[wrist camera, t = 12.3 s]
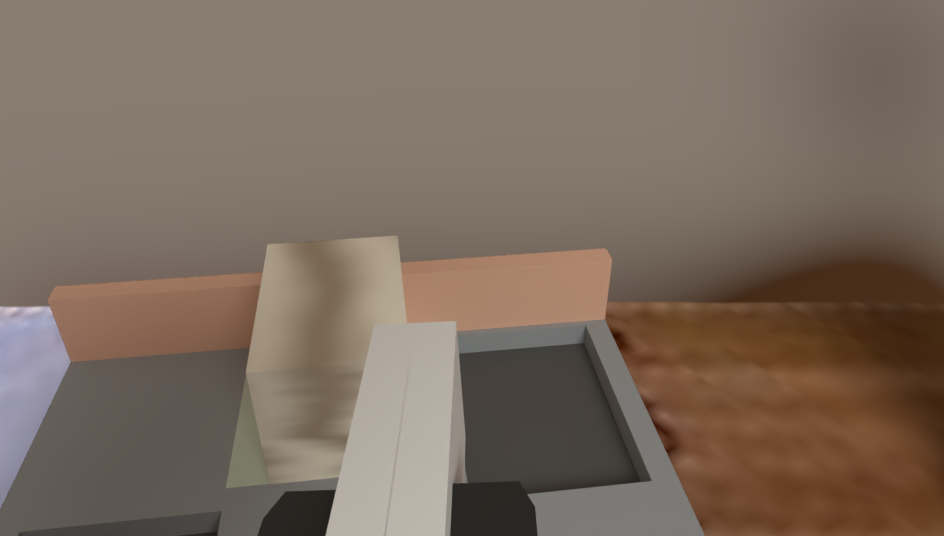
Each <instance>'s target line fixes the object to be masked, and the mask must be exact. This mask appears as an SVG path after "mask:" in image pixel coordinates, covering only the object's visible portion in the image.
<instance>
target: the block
mask: <svg viewBox="0 0 944 536" xmlns="http://www.w3.org/2000/svg"><path fill="white" fill-rule="evenodd" d="M399 323H407V318H406V309H405V299H404V290H403V281H402V272H401V262H400V254H399V244H398V236H382V237H368V238H354V239H338V240H324V241H309V242H295V243H280V244H268V245H267V251H266V257H265V262H264V268H263V274H262V280H261V286H260V292H259V298H258V303H257V309H256V315H255V321H254V327H253V333H252V339H251V345H250V350H249V356H248V362H247V368H246V376H247V381H248V386H249V390H250V395H251V400H252V404H253V409H254V414H255V418H256V423H257V428H258V432H259V437H260V442H261V446H262V451H263V456H264V460H265V465H266V469H267V474H268V479H269V483H270V484H280V483H289V482H299V481H309V480H318V479H328V478H337V477H339V475H340V471H341V467H342V462H343V458H344V454H345V449H346V445H347V441H348V436H349V432H350V428H351V423H352V419H353V415H354V411H355V406H356V402H357V398H358V393H359V389H360V385H361V380H362V376H363V372H364V367H365V363H366V359H367V354H368V350H369V346H370V341H371V337H372V333H373V328H374V325H375V324H399Z"/></svg>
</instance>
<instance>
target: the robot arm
mask: <svg viewBox="0 0 944 536" xmlns="http://www.w3.org/2000/svg"><path fill="white" fill-rule="evenodd" d="M464 475H465V424H464V412H463V399H462V386H461V374H460V361H459V348H458V336H457V323H456V321H445V322H422V323H399V324H375V325H374V328H373V333H372V337H371V341H370V346H369V350H368V354H367V359H366V363H365V367H364V372H363V376H362V380H361V385H360V389H359V393H358V398H357V402H356V406H355V411H354V415H353V419H352V423H351V428H350V432H349V436H348V441H347V445H346V449H345V454H344V458H343V462H342V467H341V471H340V475H339V480H338V484H337V488H336V490H312V491H285V493H284V494H283V495H282V496H281V497H280V499H279V500H278V501H277V502H276V503H275V505H274V506H273V507H272V508H271V509H270V511H269V512H268V513H267V514H266V515H265V517H264V518H263V520H262V523H261V526H260V529H259V532H258V535H257V536H538V534H537V523H536V511H535V506H534V504H533V503H532V501H531V500H530V498H529V496H528V495H527V493H526V492H525V490H524V488H523V487H522V485H521V484H520V482H519V481H511V482H482V483H464Z"/></svg>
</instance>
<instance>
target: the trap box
mask: <svg viewBox="0 0 944 536" xmlns="http://www.w3.org/2000/svg"><path fill="white" fill-rule="evenodd" d="M611 265H612V259H611V257H610V255H609V253H608V251H607V249H605V248H603V249H589V250H574V251H560V252H545V253H531V254H516V255H502V256H488V257H474V258H459V259H444V260H430V261H415V262H401V272H402V281H403V290H404V299H405V309H406V318H407V323H422V322H445V321H456V323H457V336H458V348H459V361H460V374H461V386H462V399H463V412H464V424H465V475H464V483H482V482H511V481H519V482H520V484H521V485H522V487H523V488H524V490H525V492H526V493H527V495H528V496H529V498H530V500H531V501H532V503H533V504H534V506H535V511H536V523H537V534H538V536H705V535H704V533H703V531H702V528H701V526H700V524H699V522H698V520H697V518H696V516H695V513H694V511H693V509H692V507H691V505H690V503H689V500H688V498H687V496H686V494H685V492H684V490H683V487H682V485H681V483H680V481H679V479H678V477H677V474H676V472H675V470H674V468H673V466H672V464H671V461H670V459H669V457H668V455H667V453H666V451H665V448H664V446H663V444H662V442H661V440H660V438H659V436H658V433H657V431H656V429H655V427H654V425H653V423H652V420H651V418H650V416H649V414H648V412H647V410H646V407H645V405H644V403H643V401H642V399H641V397H640V394H639V392H638V390H637V388H636V386H635V384H634V381H633V379H632V377H631V375H630V373H629V371H628V369H627V366H626V364H625V362H624V360H623V358H622V356H621V353H620V351H619V349H618V347H617V345H616V343H615V340H614V338H613V336H612V334H611V332H610V330H609V327H608V325H607V323H606V321H605V313H606V305H607V297H608V289H609V281H610V273H611ZM262 274H263V272H256V273H242V274H228V275H214V276H199V277H184V278H170V279H157V280H156V279H155V280H141V281H127V282H113V283H98V284H83V285H69V286H56V287H55V288H54V290H53V292H52V293H51V295H50V297H49V299H48V302H49V305H50V308H51V311H52V313H53V316H54V319H55V321H56V324H57V326H58V329H59V332H60V334H61V337H62V340H63V342H64V345H65V347H66V350H67V353H68V355H69V358H70V361H71V363H70V365H69V367H68V369H67V372H66V374H65V376H64V378H63V380H62V382H61V384H60V386H59V388H58V390H57V392H56V394H55V397H54V399H53V401H52V403H51V405H50V407H49V409H48V411H47V413H46V415H45V417H44V420H43V422H42V424H41V426H40V428H39V430H38V432H37V434H36V436H35V438H34V440H33V442H32V445H31V447H30V449H29V451H28V453H27V455H26V457H25V459H24V461H23V463H22V465H21V467H20V470H19V472H18V474H17V476H16V478H15V480H14V482H13V484H12V486H11V488H10V490H9V492H8V495H7V497H6V499H5V501H4V503H3V505H2V507H1V509H0V536H257V535H258V532H259V529H260V526H261V523H262V520H263V518H264V517H265V515H266V514H267V513H268V512H269V511H270V509H271V508H272V507H273V506H274V505H275V503H276V502H277V501H278V500H279V499H280V497H281V496H282V495H283V494H284V493H285V491H312V490H336V488H337V484H338V480H339V477H337V478H328V479H318V480H309V481H299V482H289V483H280V484H270V483H269V479H268V474H267V469H266V465H265V460H264V456H263V451H262V446H261V442H260V437H259V432H258V428H257V423H256V418H255V414H254V409H253V404H252V400H251V395H250V390H249V386H248V381H247V376H246V368H247V362H248V356H249V350H250V345H251V339H252V333H253V327H254V321H255V315H256V309H257V303H258V298H259V292H260V286H261V280H262Z"/></svg>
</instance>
